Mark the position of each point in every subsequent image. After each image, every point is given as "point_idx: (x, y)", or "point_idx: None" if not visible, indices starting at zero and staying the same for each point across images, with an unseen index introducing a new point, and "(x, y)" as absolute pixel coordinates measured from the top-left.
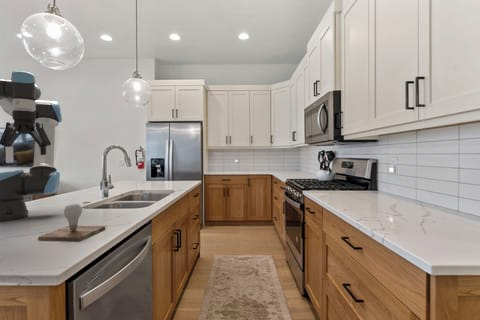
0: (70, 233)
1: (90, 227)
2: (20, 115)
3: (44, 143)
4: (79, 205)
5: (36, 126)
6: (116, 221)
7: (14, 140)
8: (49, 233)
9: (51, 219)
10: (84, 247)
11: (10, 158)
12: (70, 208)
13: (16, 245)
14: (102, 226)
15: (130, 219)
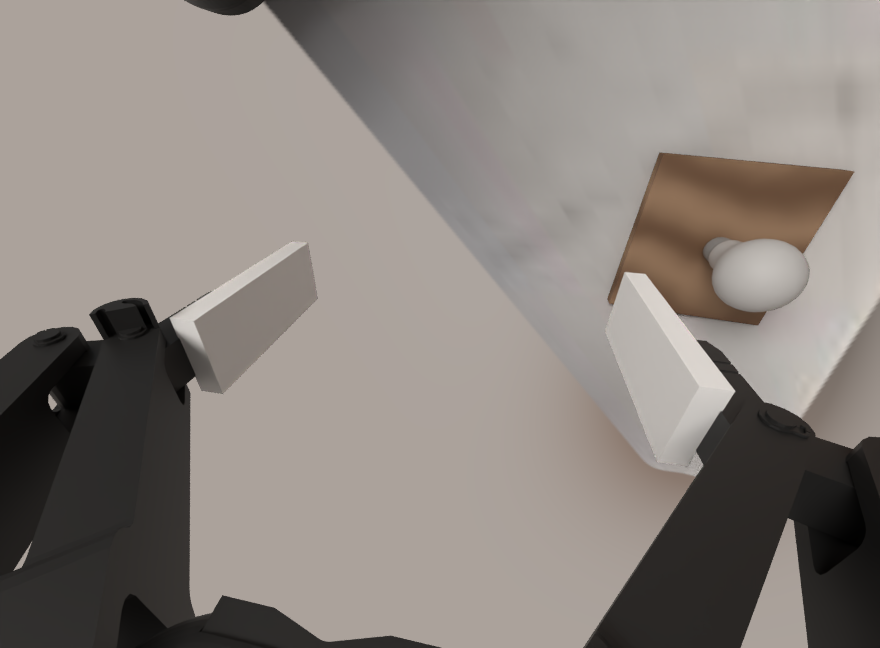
0: (710, 275)
1: (778, 193)
2: None
3: (820, 538)
4: (807, 281)
5: None
6: None
7: (156, 408)
8: (630, 272)
9: None
10: (781, 371)
11: (294, 289)
12: (761, 311)
13: (572, 338)
14: (840, 176)
15: None
